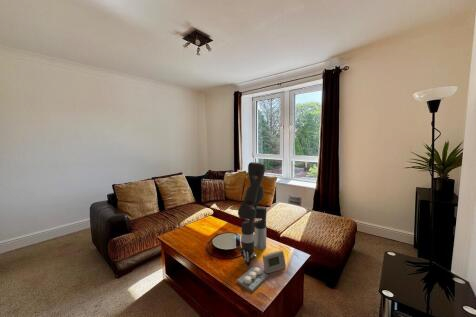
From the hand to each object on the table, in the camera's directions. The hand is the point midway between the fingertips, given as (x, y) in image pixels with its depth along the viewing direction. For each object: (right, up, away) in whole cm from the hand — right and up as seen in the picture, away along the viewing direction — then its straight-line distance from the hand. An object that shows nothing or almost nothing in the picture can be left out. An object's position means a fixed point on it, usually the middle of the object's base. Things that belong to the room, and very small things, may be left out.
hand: (248, 265), depth 119 cm
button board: (+3, -11, +4) cm, 12 cm away
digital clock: (+18, -10, +14) cm, 25 cm away
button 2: (+3, -11, +4) cm, 12 cm away
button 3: (+6, -10, +8) cm, 14 cm away
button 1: (0, -11, 0) cm, 11 cm away
